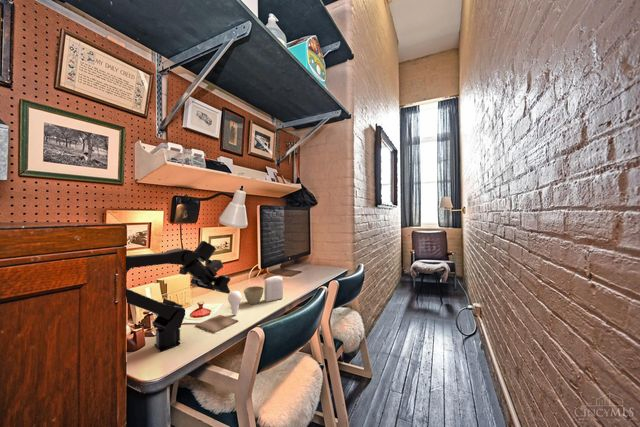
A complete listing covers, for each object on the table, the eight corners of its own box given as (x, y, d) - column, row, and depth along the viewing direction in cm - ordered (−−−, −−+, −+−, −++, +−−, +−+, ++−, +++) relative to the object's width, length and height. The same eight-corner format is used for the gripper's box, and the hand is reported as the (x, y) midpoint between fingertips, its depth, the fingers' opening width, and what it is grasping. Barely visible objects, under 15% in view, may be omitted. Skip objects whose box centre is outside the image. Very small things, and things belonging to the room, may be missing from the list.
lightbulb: (237, 318, 114) (237, 293, 113) (225, 316, 115) (225, 292, 115) (244, 312, 119) (244, 289, 119) (232, 311, 121) (232, 288, 121)
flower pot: (248, 299, 139) (248, 285, 139) (266, 299, 138) (265, 286, 138) (240, 305, 129) (240, 291, 129) (259, 306, 128) (259, 292, 128)
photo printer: (280, 296, 143) (280, 274, 143) (284, 298, 139) (284, 276, 139) (263, 300, 137) (263, 277, 137) (266, 302, 133) (266, 278, 133)
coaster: (214, 333, 99) (214, 331, 99) (195, 326, 105) (195, 324, 105) (238, 321, 110) (238, 320, 110) (219, 316, 116) (219, 314, 116)
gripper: (226, 256, 101) (247, 277, 111) (197, 252, 111) (218, 272, 120) (209, 280, 95) (232, 301, 104) (179, 274, 104) (203, 294, 114)
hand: (221, 291), depth 111 cm, fingers open, 9 cm apart
